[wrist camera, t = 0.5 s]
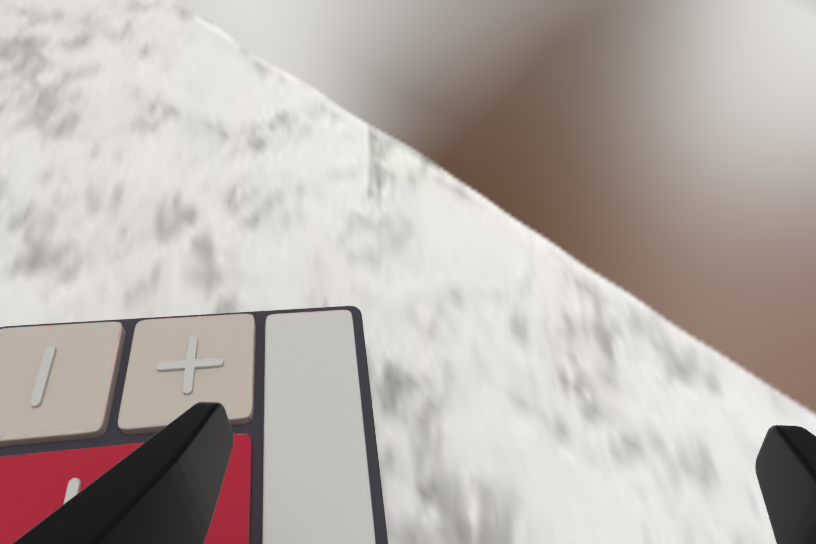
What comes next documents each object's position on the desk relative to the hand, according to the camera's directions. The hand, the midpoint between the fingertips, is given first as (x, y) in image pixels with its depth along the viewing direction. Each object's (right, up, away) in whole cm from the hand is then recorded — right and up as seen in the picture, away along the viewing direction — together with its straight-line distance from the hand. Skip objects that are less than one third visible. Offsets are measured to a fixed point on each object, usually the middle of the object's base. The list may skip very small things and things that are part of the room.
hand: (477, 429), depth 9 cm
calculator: (-10, -6, +14) cm, 18 cm away
